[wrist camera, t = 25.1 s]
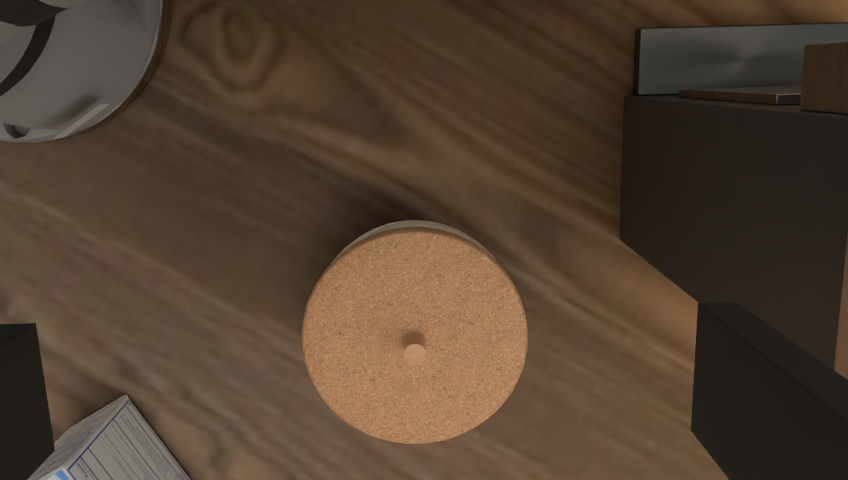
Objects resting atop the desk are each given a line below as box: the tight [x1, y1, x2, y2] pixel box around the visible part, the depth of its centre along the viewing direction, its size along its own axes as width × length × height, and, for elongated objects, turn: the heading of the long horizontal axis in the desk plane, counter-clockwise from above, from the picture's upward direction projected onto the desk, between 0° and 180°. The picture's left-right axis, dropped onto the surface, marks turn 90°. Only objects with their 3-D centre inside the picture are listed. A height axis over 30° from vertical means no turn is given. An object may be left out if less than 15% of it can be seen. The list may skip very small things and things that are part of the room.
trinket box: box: [302, 220, 528, 444], centre depth 37 cm, size 11×11×9 cm
